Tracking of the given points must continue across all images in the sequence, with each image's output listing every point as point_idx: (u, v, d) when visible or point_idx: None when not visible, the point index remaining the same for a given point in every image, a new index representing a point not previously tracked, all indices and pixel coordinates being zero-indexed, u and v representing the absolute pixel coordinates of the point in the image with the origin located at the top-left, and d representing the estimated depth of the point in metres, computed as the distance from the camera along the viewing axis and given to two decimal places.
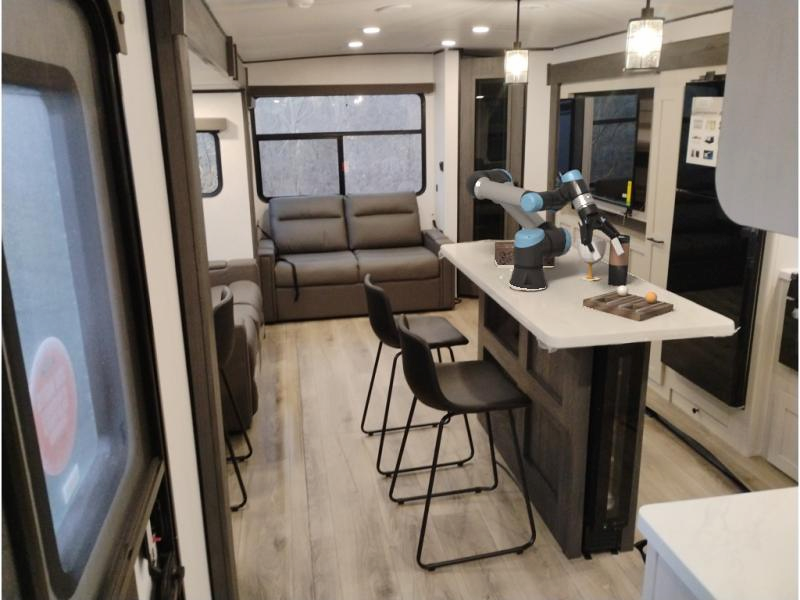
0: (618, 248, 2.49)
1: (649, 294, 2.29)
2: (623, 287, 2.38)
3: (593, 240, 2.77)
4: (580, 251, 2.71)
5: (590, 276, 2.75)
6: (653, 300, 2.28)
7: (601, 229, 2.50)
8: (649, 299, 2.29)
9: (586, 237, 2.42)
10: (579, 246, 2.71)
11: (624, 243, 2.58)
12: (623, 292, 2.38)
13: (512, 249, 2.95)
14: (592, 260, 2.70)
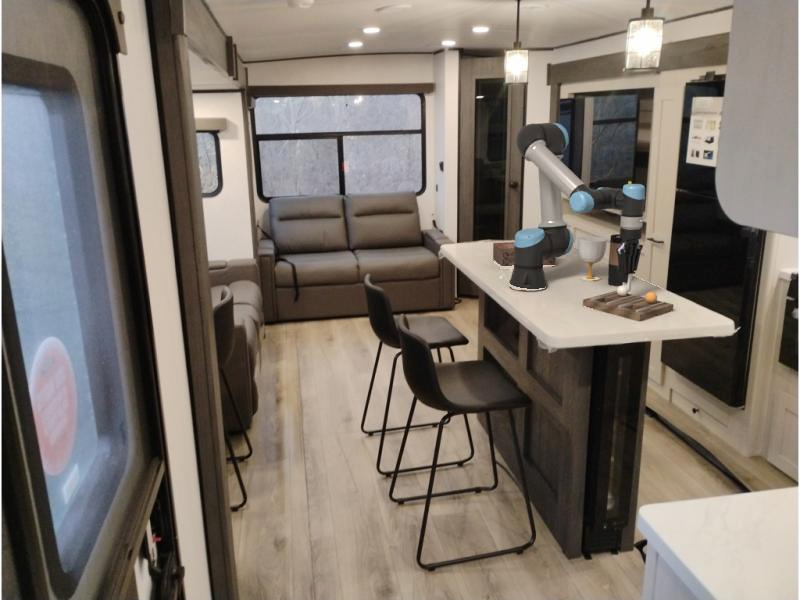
0: None
1: (649, 294, 2.29)
2: (623, 287, 2.38)
3: (593, 240, 2.77)
4: (580, 251, 2.71)
5: (590, 276, 2.75)
6: (653, 300, 2.28)
7: None
8: (649, 299, 2.29)
9: (625, 269, 2.36)
10: (579, 246, 2.71)
11: None
12: (623, 293, 2.38)
13: None
14: (592, 260, 2.70)
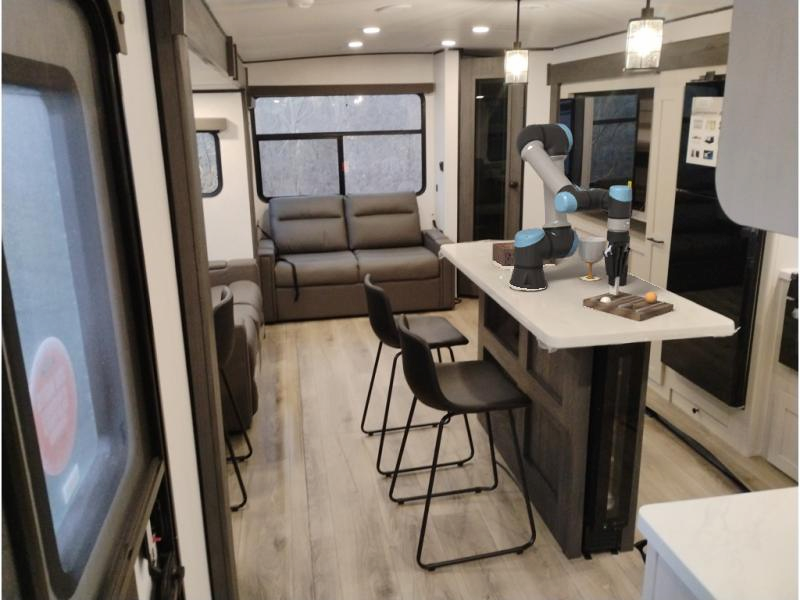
0: None
1: (649, 294, 2.29)
2: (610, 299, 2.35)
3: (593, 240, 2.77)
4: (580, 251, 2.71)
5: (590, 276, 2.75)
6: (653, 300, 2.28)
7: None
8: (649, 299, 2.29)
9: (612, 272, 2.32)
10: (579, 246, 2.71)
11: None
12: (608, 299, 2.33)
13: None
14: (592, 260, 2.70)
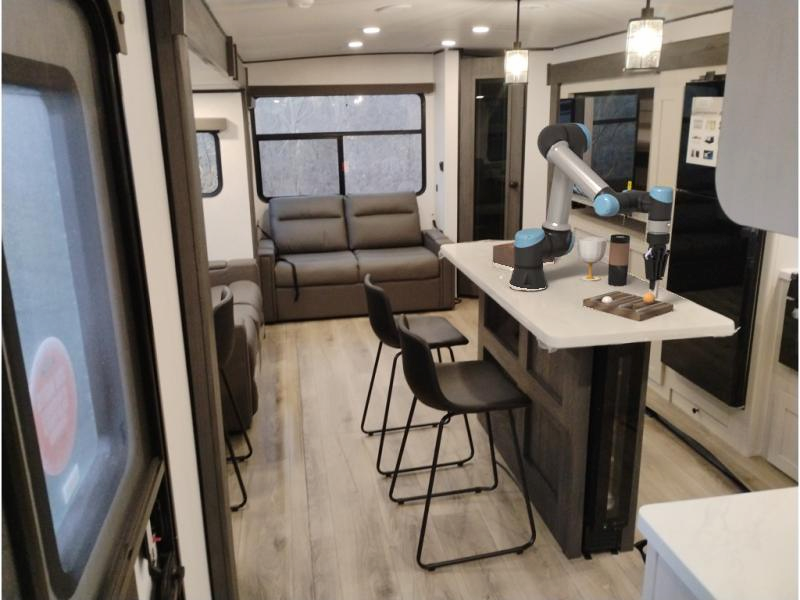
0: None
1: (645, 298, 2.28)
2: None
3: (593, 240, 2.77)
4: (580, 251, 2.71)
5: (590, 276, 2.75)
6: (651, 302, 2.28)
7: None
8: (647, 302, 2.28)
9: (652, 275, 2.25)
10: (579, 246, 2.71)
11: (624, 243, 2.58)
12: (611, 298, 2.34)
13: None
14: (592, 260, 2.70)
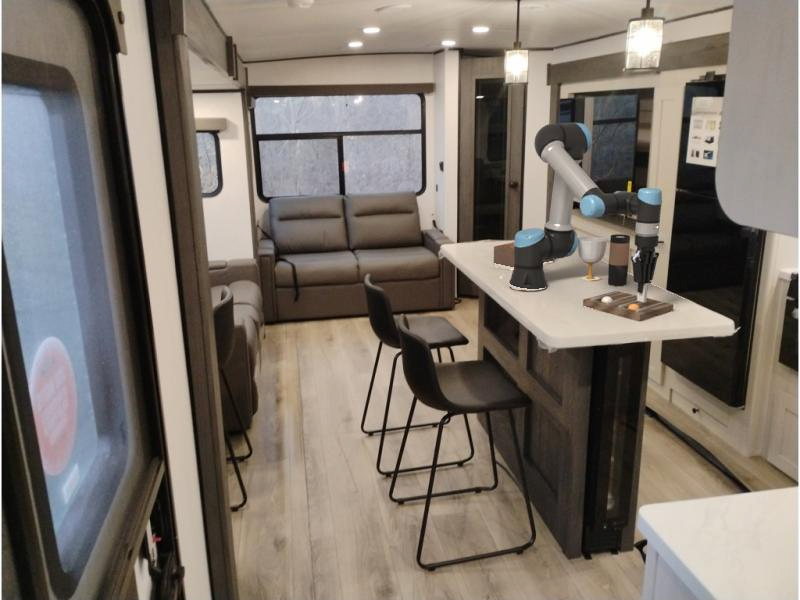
0: None
1: None
2: None
3: (593, 240, 2.77)
4: (580, 251, 2.71)
5: (590, 276, 2.75)
6: (636, 308, 2.23)
7: None
8: (635, 304, 2.24)
9: (640, 278, 2.22)
10: (579, 246, 2.71)
11: (624, 243, 2.58)
12: (610, 299, 2.34)
13: None
14: (592, 260, 2.70)
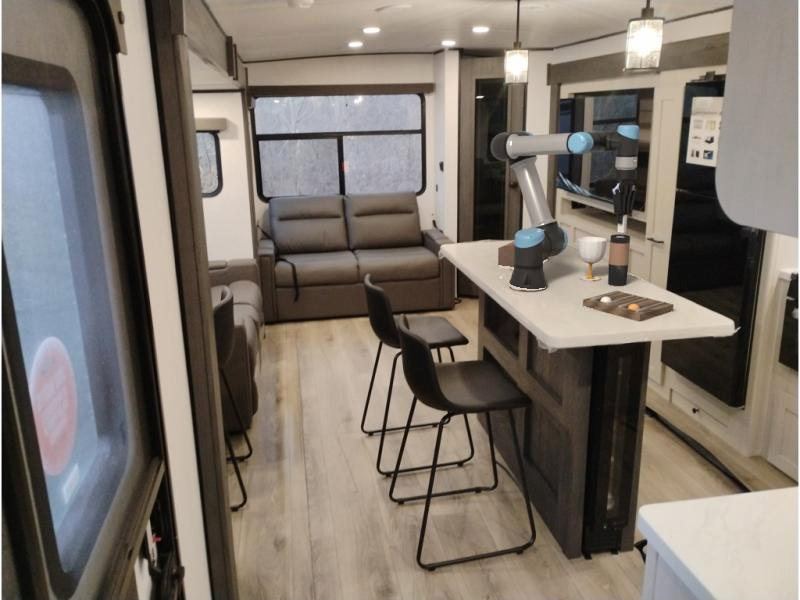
0: None
1: None
2: None
3: (593, 240, 2.77)
4: (580, 251, 2.71)
5: (590, 276, 2.75)
6: (636, 308, 2.23)
7: None
8: (635, 304, 2.24)
9: (620, 209, 2.40)
10: (579, 246, 2.71)
11: (624, 243, 2.58)
12: (608, 299, 2.33)
13: None
14: (592, 260, 2.70)
